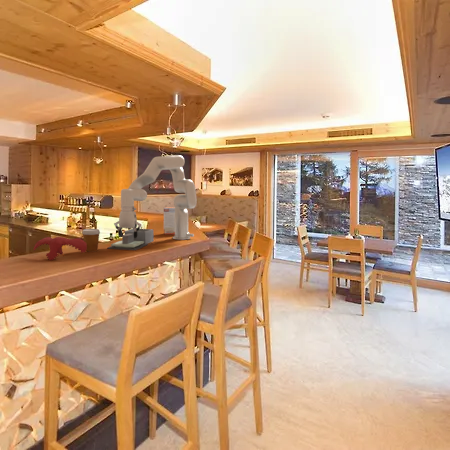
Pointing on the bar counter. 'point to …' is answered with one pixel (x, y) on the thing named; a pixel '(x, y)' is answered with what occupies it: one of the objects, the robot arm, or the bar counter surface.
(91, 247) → the disposable coffee cup
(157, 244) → the bar counter surface
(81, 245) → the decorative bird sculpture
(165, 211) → the cracker box
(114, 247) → the mat
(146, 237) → the box
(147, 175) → the robot arm
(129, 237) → the lid
